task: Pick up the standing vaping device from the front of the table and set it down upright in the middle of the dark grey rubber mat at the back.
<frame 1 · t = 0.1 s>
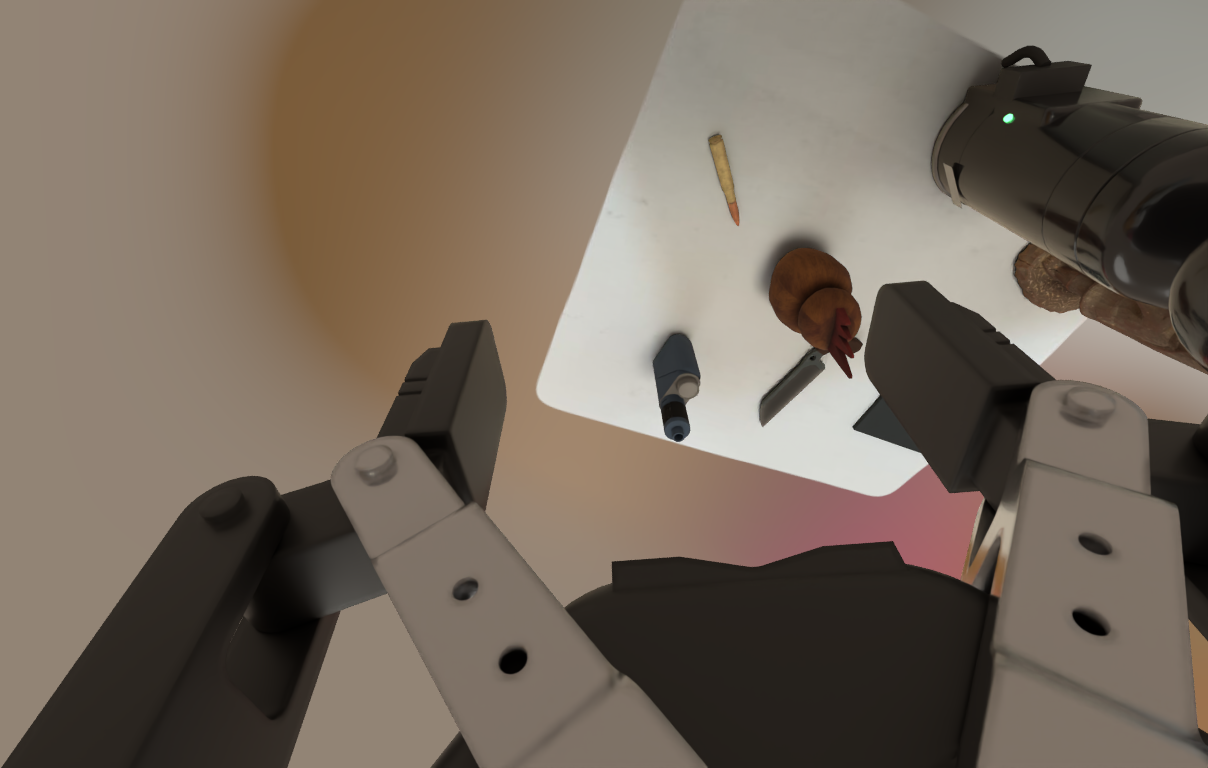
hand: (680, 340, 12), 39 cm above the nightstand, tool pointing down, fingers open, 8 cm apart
wooden figurine: (794, 270, 53), on the nightstand
bullet: (735, 180, 47), point 1 cm above the nightstand
vaping device: (671, 351, 58), on the nightstand
figurine: (1055, 264, 53), on the nightstand
knife: (800, 379, 60), on the nightstand
mat: (931, 396, 62), on the nightstand
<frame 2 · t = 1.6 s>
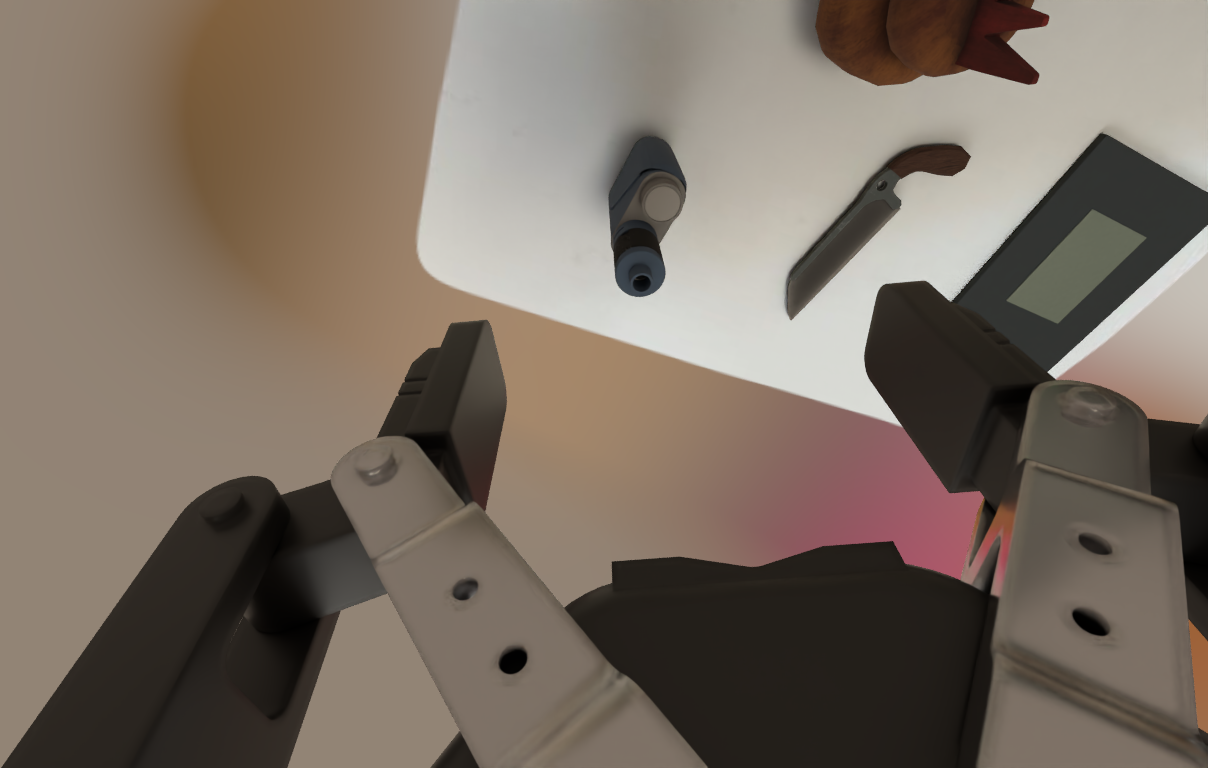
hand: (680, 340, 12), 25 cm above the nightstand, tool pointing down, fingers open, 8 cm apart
vaping device: (638, 175, 34), on the nightstand
knife: (856, 232, 36), on the nightstand
mat: (1068, 266, 38), on the nightstand
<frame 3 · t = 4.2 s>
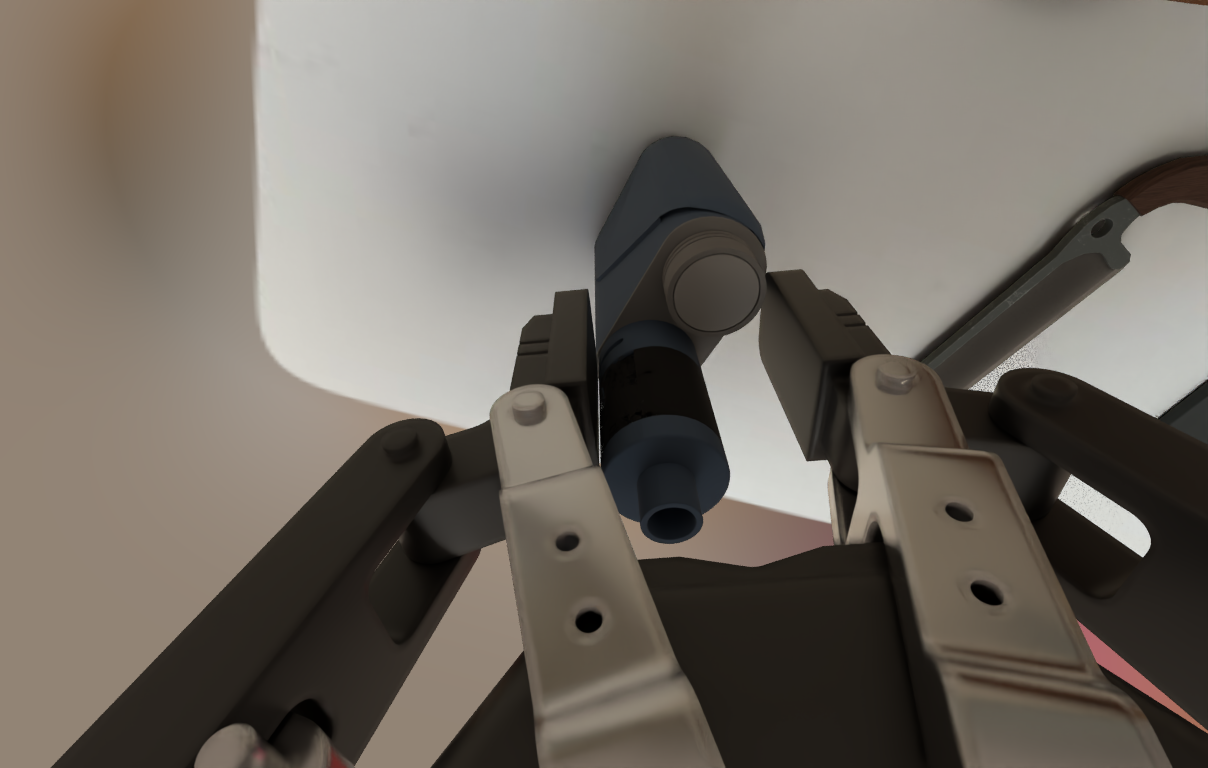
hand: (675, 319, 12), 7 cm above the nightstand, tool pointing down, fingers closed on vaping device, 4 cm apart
vaping device: (649, 209, 18), on the nightstand, touching gripper
knife: (1031, 305, 21), on the nightstand
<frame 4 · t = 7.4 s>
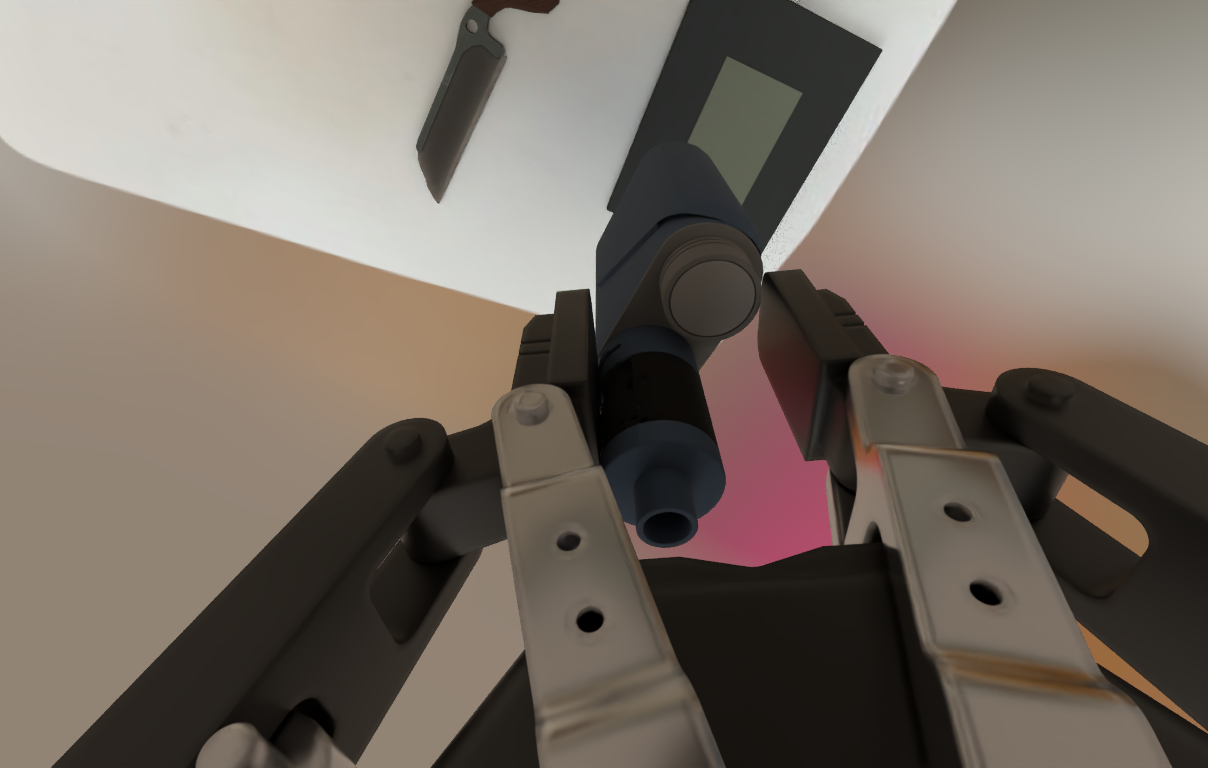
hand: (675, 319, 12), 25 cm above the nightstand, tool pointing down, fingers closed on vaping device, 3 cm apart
vaping device: (650, 213, 18), point 18 cm above the nightstand, touching gripper
knife: (475, 91, 32), on the nightstand
mat: (732, 134, 34), on the nightstand
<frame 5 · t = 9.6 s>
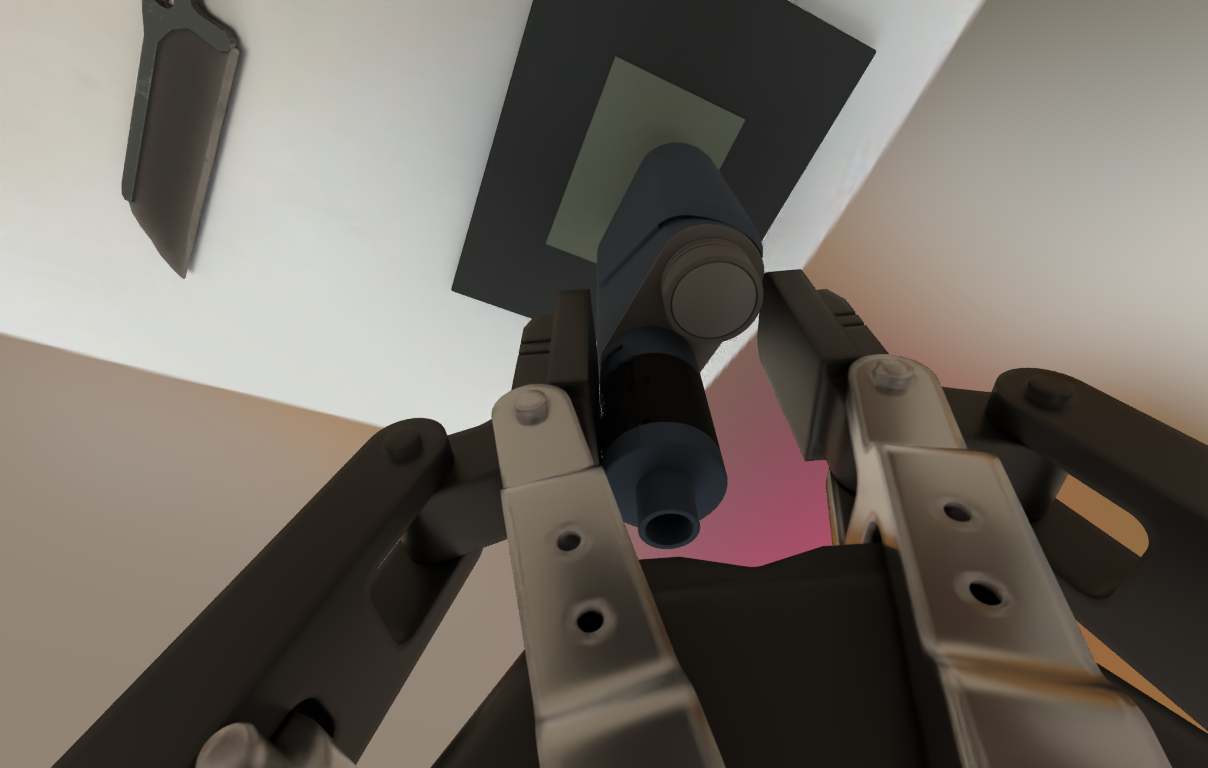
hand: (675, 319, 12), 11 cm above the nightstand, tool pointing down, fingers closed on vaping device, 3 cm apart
vaping device: (651, 214, 18), point 3 cm above the nightstand, touching gripper
knife: (207, 107, 19), on the nightstand
mat: (638, 181, 21), on the nightstand
when the fingers open (8 cm above the nightstand, at t = 10.9 s): vaping device stays where it is, resting on mat.
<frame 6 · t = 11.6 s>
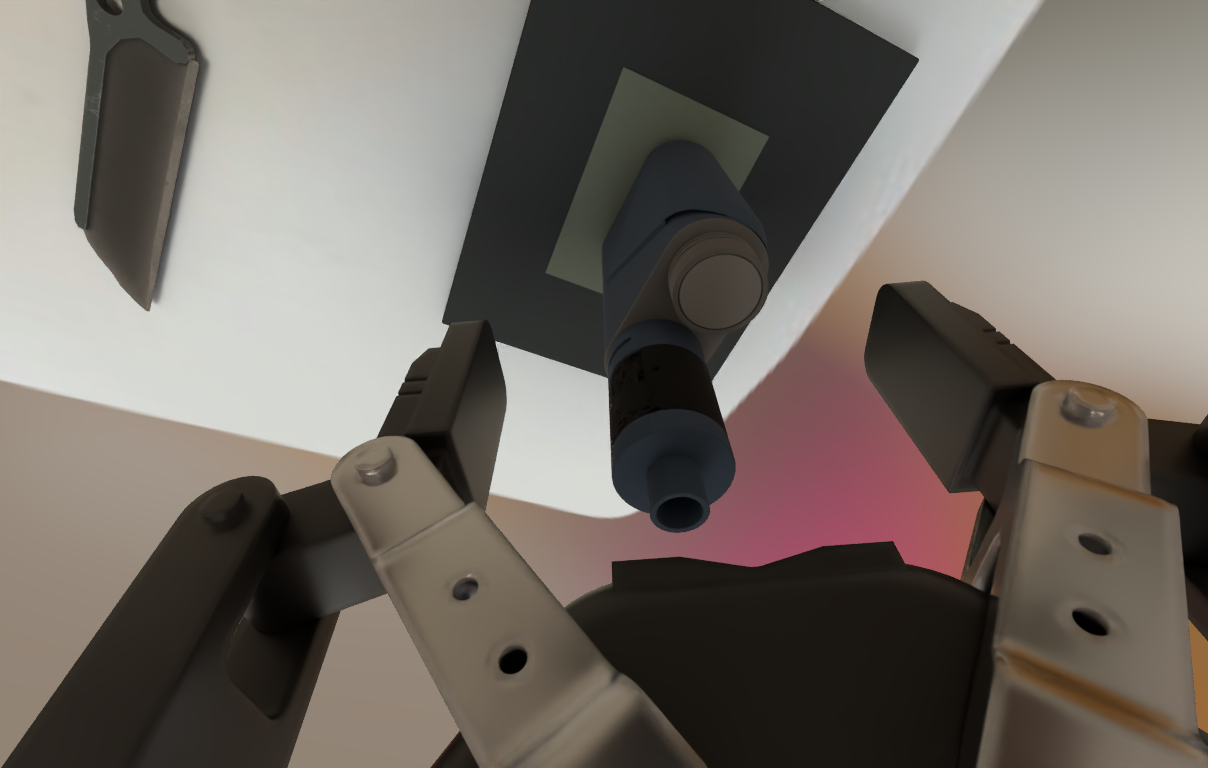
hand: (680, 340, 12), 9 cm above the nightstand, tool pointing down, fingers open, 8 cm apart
vaping device: (655, 211, 19), resting on mat
knife: (167, 125, 17), on the nightstand
mat: (648, 204, 19), on the nightstand
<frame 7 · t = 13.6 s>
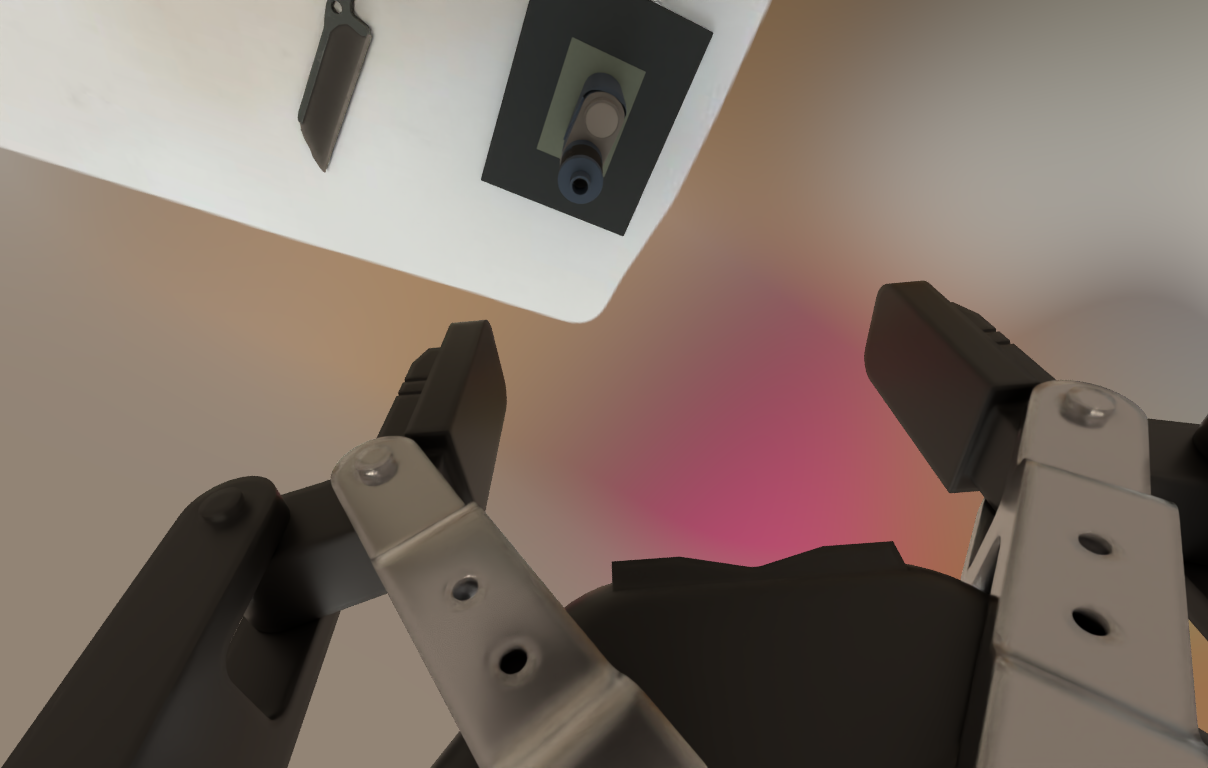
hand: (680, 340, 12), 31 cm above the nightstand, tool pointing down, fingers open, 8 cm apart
vaping device: (592, 113, 37), resting on mat
knife: (349, 68, 35), on the nightstand
mat: (589, 110, 37), on the nightstand
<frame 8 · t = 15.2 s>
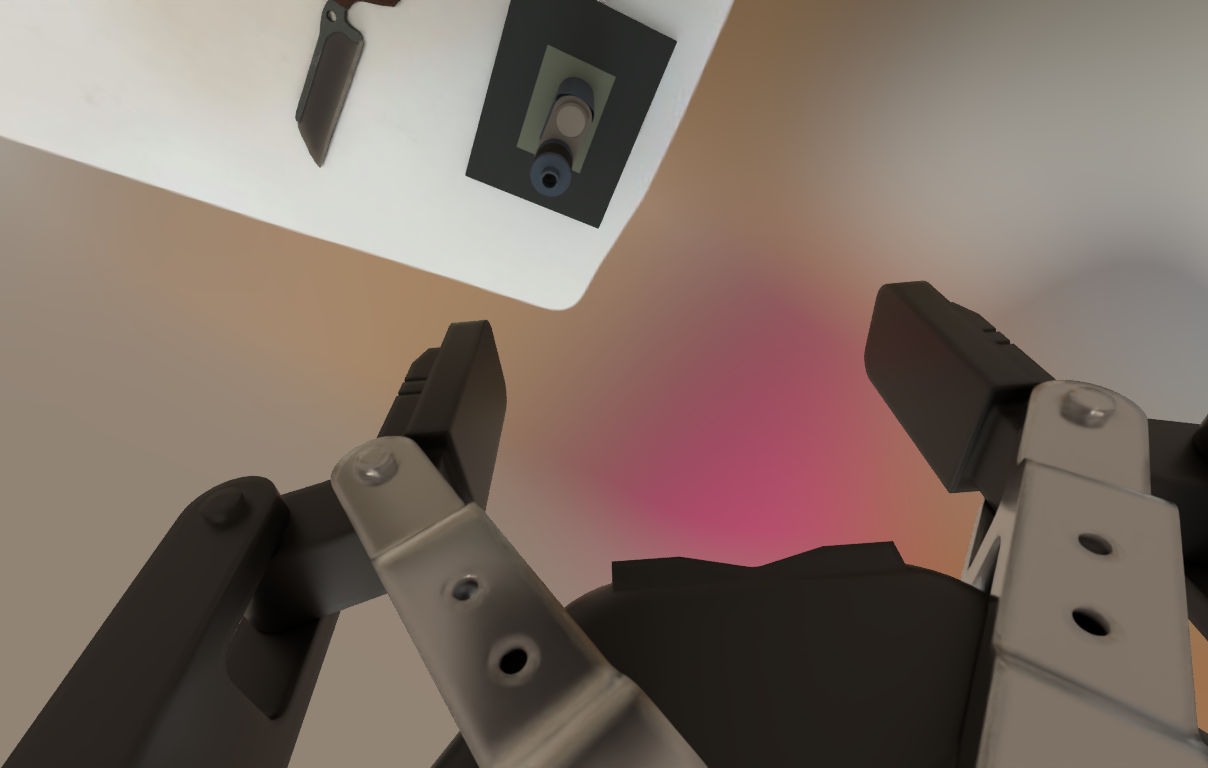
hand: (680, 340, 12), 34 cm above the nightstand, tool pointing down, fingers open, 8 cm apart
vaping device: (567, 114, 40), resting on mat
knife: (343, 71, 38), on the nightstand
mat: (564, 111, 40), on the nightstand
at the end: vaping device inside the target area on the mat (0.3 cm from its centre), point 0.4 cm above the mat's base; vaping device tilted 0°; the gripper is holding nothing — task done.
